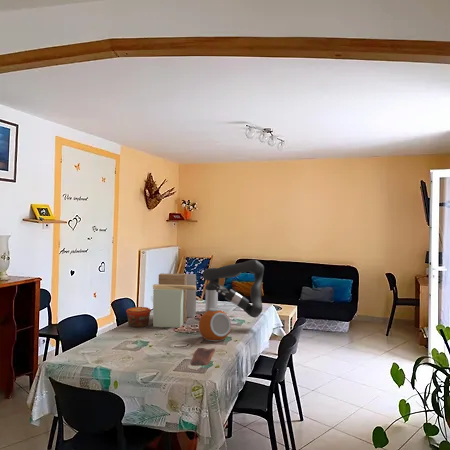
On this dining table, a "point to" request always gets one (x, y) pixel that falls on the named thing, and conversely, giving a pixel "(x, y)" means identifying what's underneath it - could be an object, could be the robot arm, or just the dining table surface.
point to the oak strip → (174, 287)
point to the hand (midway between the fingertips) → (212, 284)
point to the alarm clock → (214, 325)
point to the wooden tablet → (202, 356)
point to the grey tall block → (191, 297)
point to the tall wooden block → (176, 280)
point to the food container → (138, 317)
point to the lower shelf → (167, 308)
